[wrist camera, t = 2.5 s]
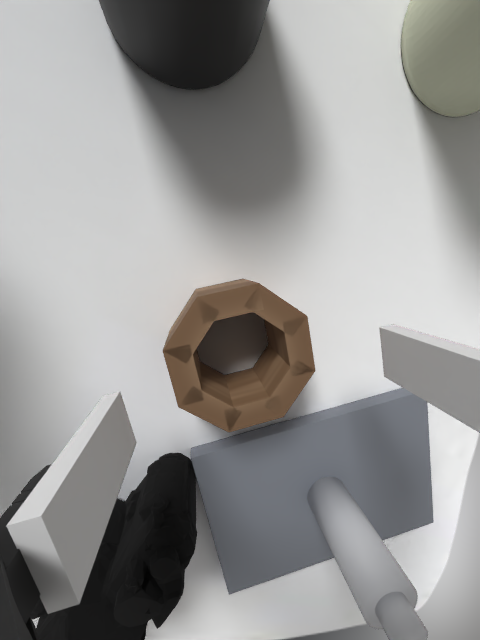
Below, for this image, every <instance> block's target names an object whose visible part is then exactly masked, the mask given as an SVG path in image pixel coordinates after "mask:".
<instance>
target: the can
mask: <svg viewBox="0 0 480 640" xmlns="http://www.w3.org/2000/svg"><path fill="white" fill-rule="evenodd" d="M401 52H402V61H403V66H404V70H405V74H406V76H407V79H408V82H409V84H410V86H411V88H412V90H413V91H414V93H415V94H416V96H417V97H418V98H419V100H420V101H421V102H422V103H423V104H424V105H425V106H427V107H428V108H429V109H431V110H432V111H434V112H436V113H438V114H441V115H444V116H450V117H460V116H466V115H469V114H472V113H475V112H477V111H479V110H480V0H411V1H410V3H409V6H408V9H407V12H406V15H405V18H404V23H403V28H402V36H401Z"/></svg>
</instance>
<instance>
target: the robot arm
mask: <svg viewBox="0 0 480 640" xmlns="http://www.w3.org/2000/svg"><path fill="white" fill-rule="evenodd" d="M379 328H380V338H381V348H382V359H383V369H384V377H386V378H388V379H389V380H391V381H393V382H394V383H396V384H398V385H399V386H401V387H403V388H405V389H406V390H408V391H410V392H411V393H413V394H415V395H416V396H418V397H420V398H421V399H423V400H425V401H427V402H428V403H430V404H432V405H433V406H435V407H437V408H438V409H440V410H442V411H444V412H445V413H447V414H449V415H450V416H452V417H454V418H455V419H457V420H459V421H461V422H462V423H464V424H466V425H467V426H469V427H471V428H472V429H474V430H476V431H478V432H479V433H480V349H477V348H473V347H470V346H467V345H463V344H460V343H456V342H453V341H449V340H446V339H443V338H439V337H436V336H432V335H429V334H425V333H422V332H419V331H415V330H412V329H408V328H405V327H401V326H398V325H395V324H391V325H387V326H383V327H379ZM135 445H136V440H135V437H134V433H133V430H132V427H131V424H130V421H129V418H128V415H127V412H126V409H125V405H124V402H123V399H122V396H121V393H120V392H116V393H112V394H107V395H103V396H102V398H101V399H100V401H99V402H98V403H97V405H96V406H95V407H94V409H93V410H92V411H91V413H90V414H89V415H88V417H87V418H86V419H85V421H84V422H83V423H82V425H81V426H80V427H79V429H78V430H77V431H76V433H75V434H74V435H73V437H72V438H71V439H70V441H69V442H68V444H67V445H66V446H65V448H64V449H63V450H62V452H61V453H60V454H59V456H58V457H57V458H56V460H55V461H54V462H53V464H52V465H48V466H46V467H45V468H43V469H42V470H41V471H40V472H39V473H38V474H36V475H35V476H34V477H33V478H32V479H31V480H30V481H29V482H28V484H27V485H26V486H25V488H24V489H23V490H22V491H21V494H19V495H18V496H17V498H16V499H15V500H14V501H13V503H12V506H9V508H8V509H7V510H6V512H5V513H4V514H3V515H2V517H1V518H0V640H39V638H38V634H37V631H36V628H35V625H34V623H33V621H32V619H31V617H30V615H31V613H32V611H33V609H34V607H35V605H36V603H37V601H38V599H39V597H40V599H41V601H42V603H43V605H44V607H45V609H46V611H47V613H48V614H50V613H53V612H56V611H59V610H62V609H65V608H68V607H71V606H75V605H78V604H79V603H80V601H81V598H82V595H83V592H84V589H85V587H86V584H87V581H88V578H89V575H90V572H91V570H92V567H93V564H94V561H95V558H96V555H97V553H98V550H99V547H100V544H101V541H102V539H103V536H104V533H105V530H106V527H107V524H108V522H109V519H110V516H111V513H112V510H113V508H114V505H115V502H116V499H117V496H118V493H119V491H120V488H121V485H122V482H123V479H124V476H125V474H126V471H127V468H128V465H129V462H130V460H131V457H132V454H133V451H134V448H135Z"/></svg>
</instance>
